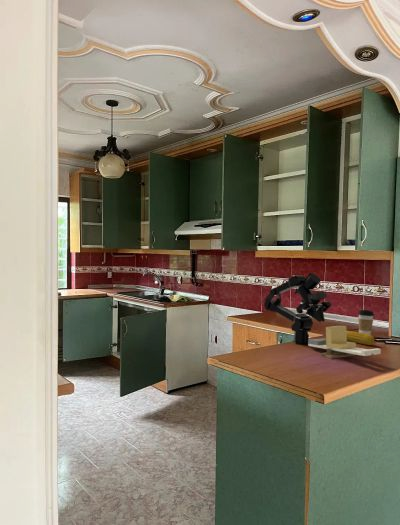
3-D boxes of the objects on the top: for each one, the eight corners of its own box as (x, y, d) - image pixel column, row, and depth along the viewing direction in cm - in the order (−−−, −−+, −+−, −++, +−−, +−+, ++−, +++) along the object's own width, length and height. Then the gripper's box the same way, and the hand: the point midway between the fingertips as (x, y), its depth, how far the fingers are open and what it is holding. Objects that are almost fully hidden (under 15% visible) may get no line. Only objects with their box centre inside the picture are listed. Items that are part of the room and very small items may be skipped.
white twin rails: (308, 345, 184) (308, 339, 184) (323, 344, 189) (323, 337, 189) (364, 356, 156) (364, 348, 157) (380, 353, 161) (380, 346, 161)
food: (375, 345, 197) (375, 334, 197) (369, 347, 194) (370, 335, 193) (339, 337, 214) (339, 326, 214) (333, 338, 210) (333, 327, 210)
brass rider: (326, 348, 174) (325, 326, 175) (341, 346, 179) (341, 325, 180) (340, 350, 167) (339, 328, 168) (356, 348, 172) (355, 327, 173)
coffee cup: (356, 336, 217) (357, 310, 217) (357, 333, 225) (358, 308, 224) (372, 338, 213) (373, 311, 213) (373, 335, 221) (374, 310, 220)
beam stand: (320, 355, 173) (320, 347, 173) (345, 352, 181) (345, 344, 181) (330, 358, 168) (331, 351, 168) (355, 355, 176) (356, 347, 176)
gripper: (301, 285, 183) (317, 312, 174) (329, 285, 192) (346, 310, 183) (289, 299, 190) (304, 326, 181) (317, 298, 199) (332, 324, 190)
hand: (322, 321), depth 183 cm, fingers closed
